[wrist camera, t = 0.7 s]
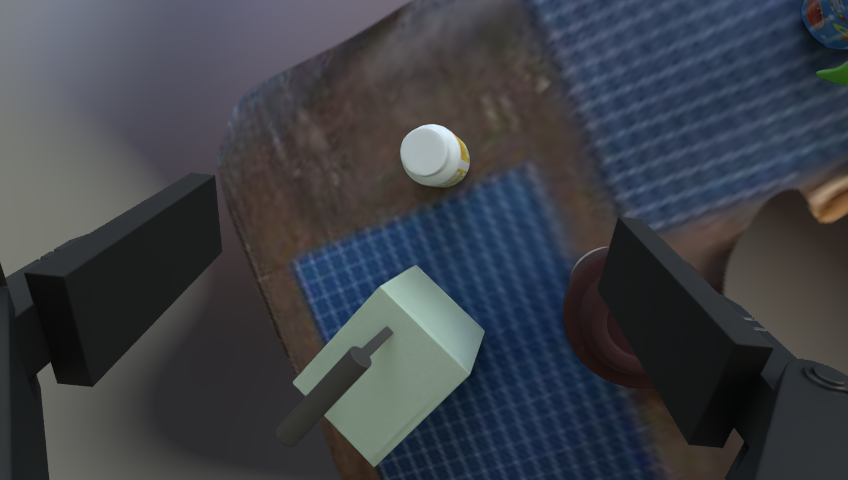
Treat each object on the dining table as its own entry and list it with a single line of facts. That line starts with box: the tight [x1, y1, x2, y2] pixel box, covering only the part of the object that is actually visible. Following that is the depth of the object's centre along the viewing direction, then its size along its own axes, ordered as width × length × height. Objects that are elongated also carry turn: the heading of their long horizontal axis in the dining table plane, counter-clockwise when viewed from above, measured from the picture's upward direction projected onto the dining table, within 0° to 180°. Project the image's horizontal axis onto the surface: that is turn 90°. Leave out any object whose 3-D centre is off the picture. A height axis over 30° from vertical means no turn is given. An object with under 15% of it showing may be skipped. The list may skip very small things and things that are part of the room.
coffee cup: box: [563, 247, 706, 388], centre depth 38 cm, size 10×10×15 cm
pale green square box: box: [276, 265, 485, 467], centre depth 40 cm, size 20×12×10 cm
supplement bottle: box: [400, 124, 470, 187], centre depth 43 cm, size 5×5×10 cm
